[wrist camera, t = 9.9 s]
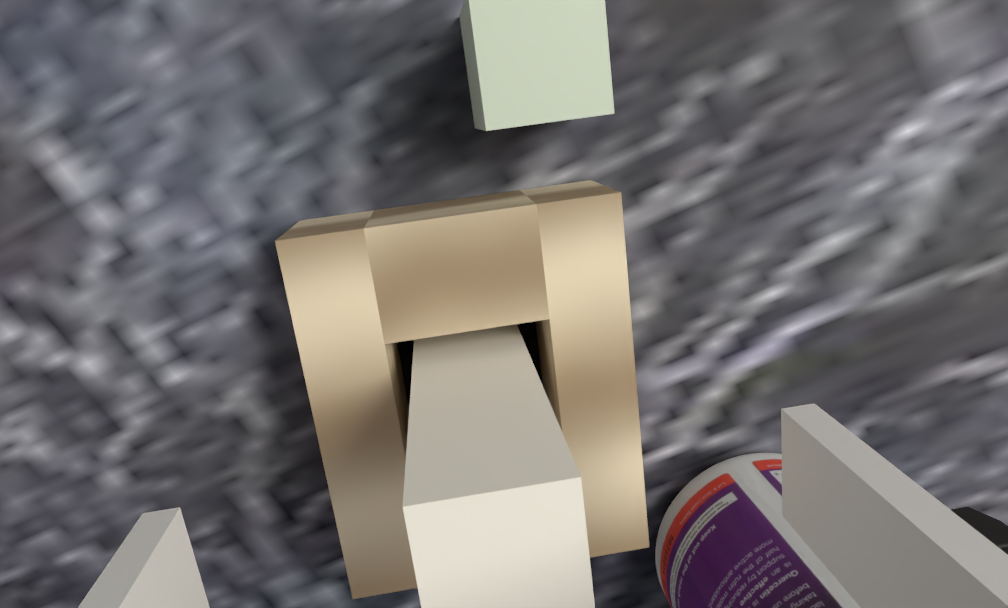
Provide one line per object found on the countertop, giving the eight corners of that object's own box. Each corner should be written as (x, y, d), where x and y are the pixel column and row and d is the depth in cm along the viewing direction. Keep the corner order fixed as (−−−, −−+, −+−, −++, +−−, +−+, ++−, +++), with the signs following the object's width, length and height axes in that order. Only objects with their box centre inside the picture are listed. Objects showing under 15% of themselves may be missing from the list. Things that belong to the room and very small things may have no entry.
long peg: (415, 326, 25) (402, 506, 13) (511, 312, 25) (581, 477, 14) (430, 416, 26) (430, 656, 14) (523, 401, 26) (596, 625, 15)
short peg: (459, 16, 23) (467, -11, 18) (566, 3, 23) (602, -27, 18) (474, 128, 23) (485, 130, 19) (577, 114, 24) (614, 113, 19)
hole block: (299, 220, 24) (274, 241, 20) (590, 180, 24) (621, 192, 20) (363, 529, 27) (352, 599, 23) (618, 487, 28) (649, 547, 24)
